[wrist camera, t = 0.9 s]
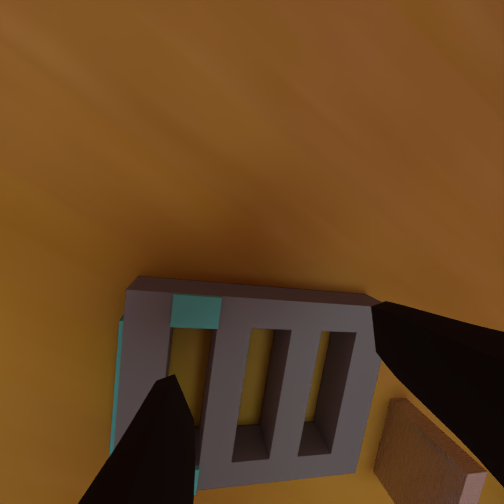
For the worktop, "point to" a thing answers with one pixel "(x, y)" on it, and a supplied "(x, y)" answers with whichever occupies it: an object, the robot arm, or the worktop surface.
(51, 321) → the worktop surface
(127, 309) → the slot rack
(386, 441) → the grey slab
